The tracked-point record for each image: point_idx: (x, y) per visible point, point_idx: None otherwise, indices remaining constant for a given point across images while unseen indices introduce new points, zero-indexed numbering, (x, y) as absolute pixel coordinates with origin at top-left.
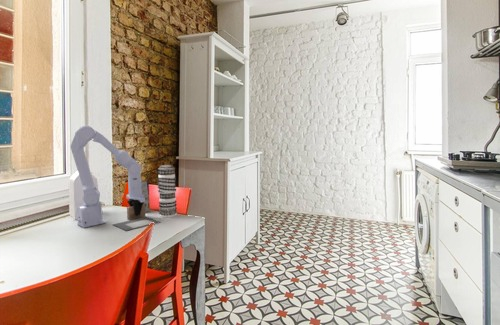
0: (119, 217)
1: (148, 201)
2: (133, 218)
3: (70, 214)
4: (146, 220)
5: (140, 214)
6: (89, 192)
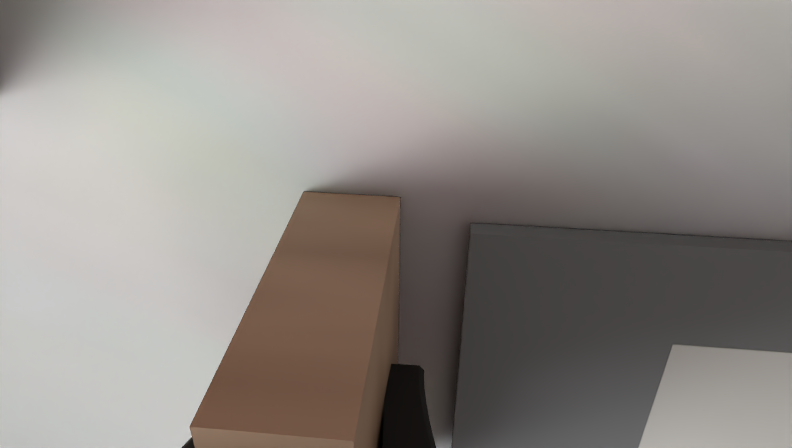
0: (86, 440)
1: None
2: None
3: None
4: (753, 375)
5: (391, 345)
6: None
